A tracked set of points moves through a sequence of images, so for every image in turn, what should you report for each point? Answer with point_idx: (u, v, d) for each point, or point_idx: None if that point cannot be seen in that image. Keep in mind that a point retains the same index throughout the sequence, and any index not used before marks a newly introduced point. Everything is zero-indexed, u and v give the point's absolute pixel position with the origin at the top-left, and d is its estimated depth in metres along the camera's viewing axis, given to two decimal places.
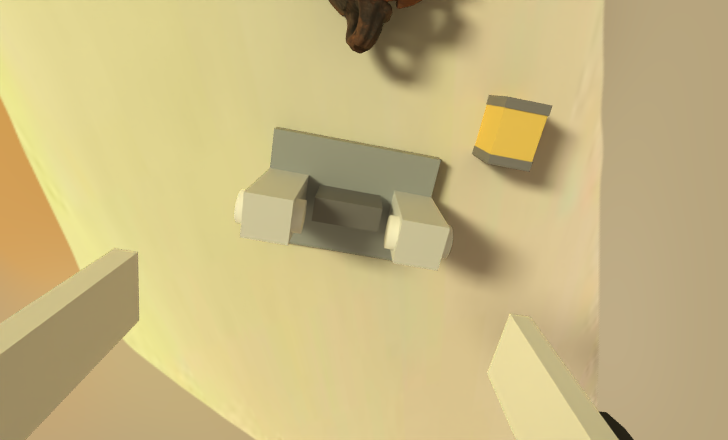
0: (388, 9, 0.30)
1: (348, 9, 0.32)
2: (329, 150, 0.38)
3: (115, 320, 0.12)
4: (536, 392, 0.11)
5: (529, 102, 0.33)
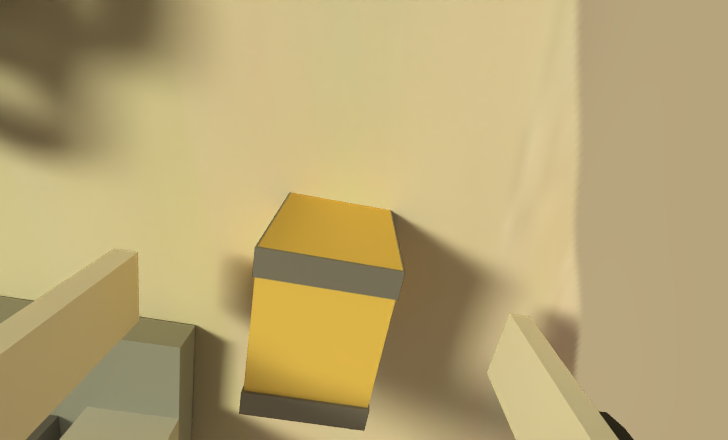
0: None
1: None
2: None
3: (115, 320, 0.12)
4: (536, 392, 0.11)
5: (329, 263, 0.10)
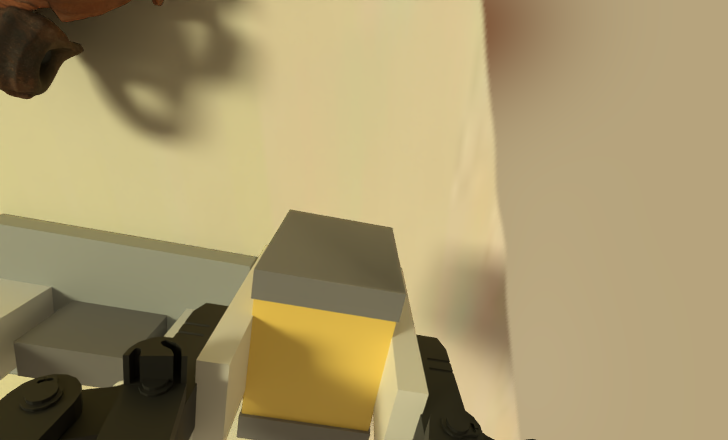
0: (39, 24, 0.17)
1: None
2: (75, 252, 0.24)
3: None
4: None
5: (329, 285, 0.10)
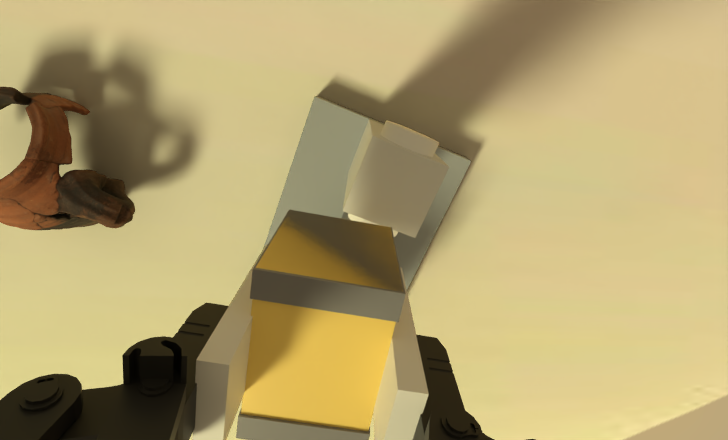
0: (70, 176, 0.23)
1: None
2: None
3: None
4: None
5: (328, 285, 0.10)
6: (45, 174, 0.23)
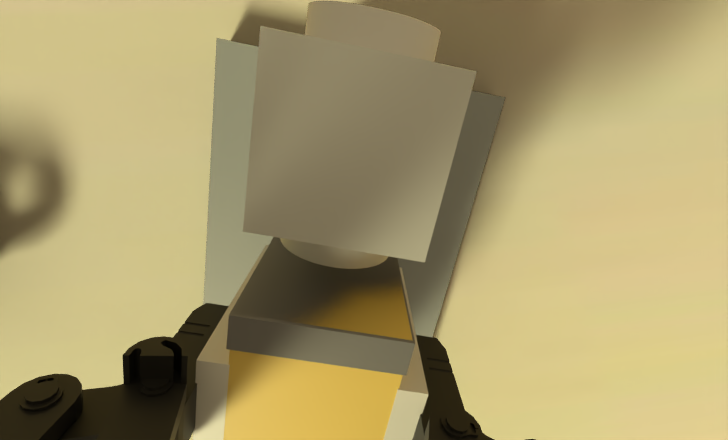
0: None
1: None
2: (227, 287, 0.19)
3: None
4: None
5: (321, 333, 0.08)
6: None
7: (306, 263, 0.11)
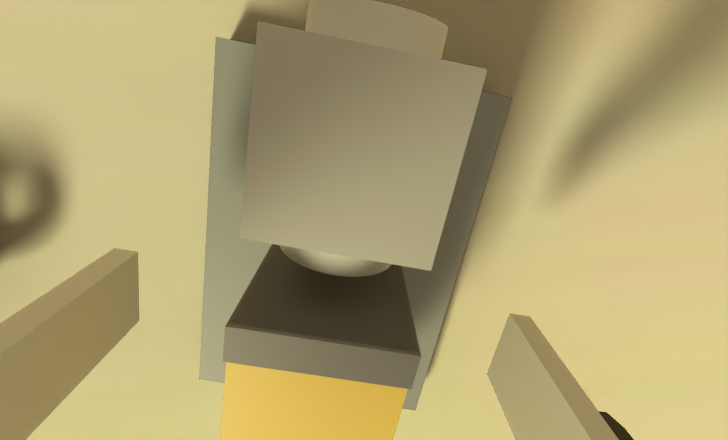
0: None
1: None
2: (226, 291, 0.18)
3: (115, 320, 0.12)
4: (536, 392, 0.11)
5: (322, 345, 0.08)
6: None
7: (307, 269, 0.10)
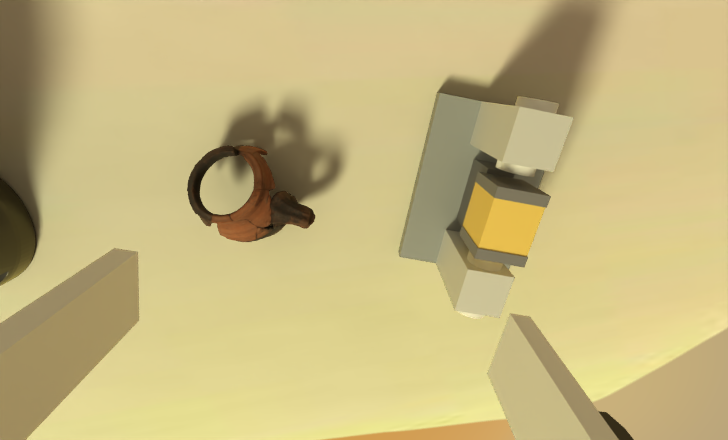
0: (276, 197, 0.34)
1: (282, 223, 0.37)
2: (422, 209, 0.38)
3: (115, 320, 0.12)
4: (536, 392, 0.11)
5: (523, 192, 0.28)
6: (263, 198, 0.33)
7: (500, 180, 0.30)
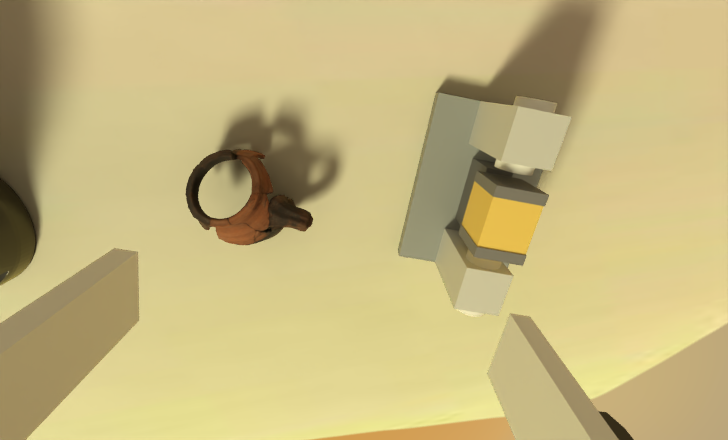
0: (274, 200, 0.34)
1: (280, 226, 0.37)
2: (421, 208, 0.38)
3: (115, 320, 0.12)
4: (536, 392, 0.11)
5: (522, 191, 0.28)
6: (261, 202, 0.34)
7: (499, 179, 0.30)
